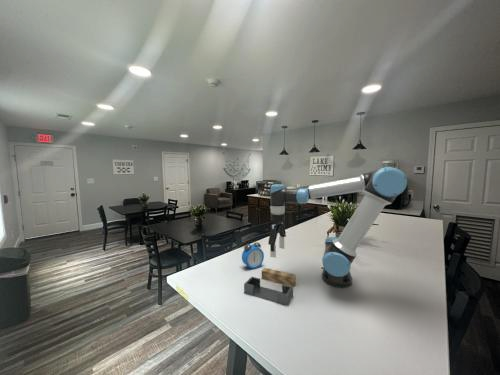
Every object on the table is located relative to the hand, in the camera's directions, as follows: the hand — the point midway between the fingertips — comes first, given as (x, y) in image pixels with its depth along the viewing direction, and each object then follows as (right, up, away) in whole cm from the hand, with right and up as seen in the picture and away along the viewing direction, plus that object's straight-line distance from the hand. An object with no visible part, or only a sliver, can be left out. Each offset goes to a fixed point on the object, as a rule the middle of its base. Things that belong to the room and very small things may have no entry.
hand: (277, 252), depth 108 cm
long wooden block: (0, -16, +1) cm, 16 cm away
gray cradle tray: (-6, -17, -11) cm, 21 cm away
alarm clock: (-13, -15, +18) cm, 27 cm away
